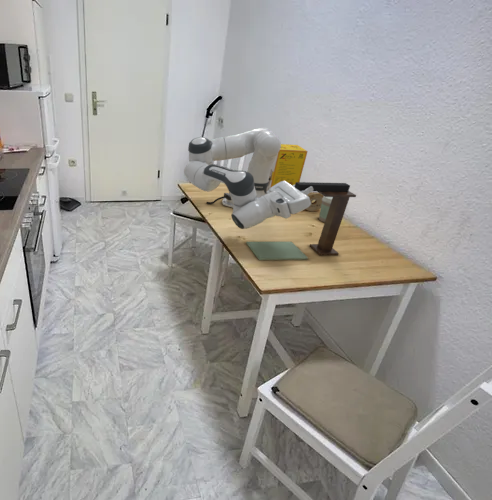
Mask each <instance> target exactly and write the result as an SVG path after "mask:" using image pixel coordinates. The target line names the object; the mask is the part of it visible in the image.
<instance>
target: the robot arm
mask: <svg viewBox="0 0 492 500" xmlns="http://www.w3.org/2000/svg"><path fill="white" fill-rule="evenodd" d="M281 144H282V142H281V139H280V136H279V135H278V134H277V133H276V132H274V131H272V130H271V129H270V128H268V127H259V128H255V129H252V130H247V131H245V132H242V133H237V134H232V135H226V136H221V137H216V138H213V139H208V138H207V137H203V136H199V137H194V138H193V139H192V140H190V142H189V143H188V149H187V150H188V162H187V164H186V165H185V166H184V169H183V176H184V177H185V178H186V180H187V181H188V182H189V183H191V184H192V185H193V186H195V187H196V188H198V189H199V190H201V191H203V192H206V193H208V192H212V191H214V190H216V189H217V188H218V187H219V186H220V184H221V183H222V184H224V185H225V186H226V188H227V190H228V192H224V193H223V196H220V197H217V198H215V200H213V201H206V204H207V205H212V204H215V203H217V202H218V201H220V200H221V204H222V205H223V206H225V207H229V208H232V213H231V219H232V221H233V223H234V224H235V226H236V227H237V228H239V229H240V230H247V229H249V228H252V227H255V226H257V225H259V224H262V223H263V222H265V220H268V219H271V218H274V217H275V216H276V217H279V218H283V219H289V218H290V217H292V215H296V214H298V213H300V212H302V211H304V210H306V208H308V207H309V206H310V205H311V202H310V198H309V197H308V196H307V195H308V194H309V193H310V192H314V191H313V190H314V189H313V187H312V186H308V187H306V190H304V191H299V190H298V189H297V188H295V185H293V186H292V185H291V184H289V183H288V182H286V181H281V182H279V183H277V184H276V185H274V186H272V187H271V188H270V189H269V190H268V185H269V182H268V180H269V176H270V171H271V167H272V164H273V162H274V160H275V157H276V155H277V153H278V152H279V150H280V148H281ZM250 154H252V156H251V159H250V161H249V163H248V166H247V171H246V170H239V169H238V170H237V169H233V168H229V167H226V166H224V165H219V164H216V163H214V162H218V161H220V162H221V161H226V160H233V159H239V158H243V157H244V156H247V155H250ZM267 190H268V191H267Z"/></svg>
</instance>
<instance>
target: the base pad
mask: <svg viewBox="0 0 492 500" xmlns="http://www.w3.org/2000/svg"><path fill="white" fill-rule="evenodd" d="M246 246H247V247H248V248H249V249H250V251H251V252H252V253H253V255H254V256H255V257H256V258H257V259H258V260H259V261H285V260H286V261H291V260H292V261H293V260H295V261H296V260H297V261H298V260H303V261H304V260H308V259H309V257H308V256H307V254H305V253H304V252H303V251H302V250H301V249H300V248H299V247H298V246H297V245H296V244H295V243H293V242H292V241H246Z"/></svg>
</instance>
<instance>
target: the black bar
mask: <svg viewBox="0 0 492 500" xmlns="http://www.w3.org/2000/svg"><path fill="white" fill-rule="evenodd" d="M308 186H312V187H313V189H314V190H313V191H312V192H317V191H321V192H348V191H350V188H351V185H350V184H348V183H347V182H315V181H314V182H310V181H309V182H308V181H307V182H306V181H303V182H302V181H300V182H296V184H295V188H297V189H298V190H299V191H304V190H306V187H308Z"/></svg>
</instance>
